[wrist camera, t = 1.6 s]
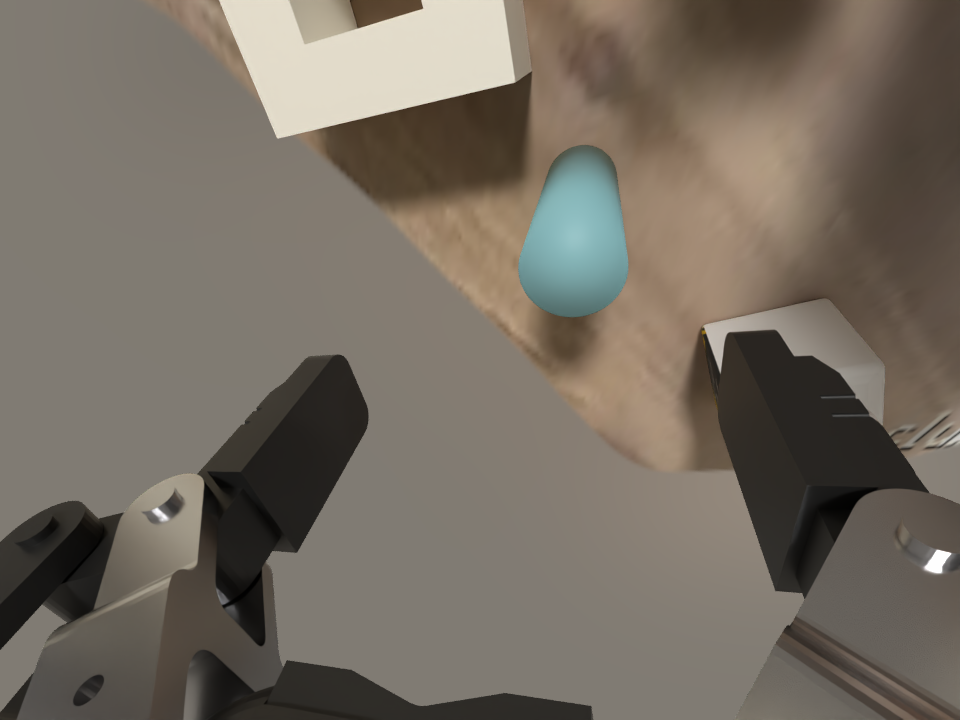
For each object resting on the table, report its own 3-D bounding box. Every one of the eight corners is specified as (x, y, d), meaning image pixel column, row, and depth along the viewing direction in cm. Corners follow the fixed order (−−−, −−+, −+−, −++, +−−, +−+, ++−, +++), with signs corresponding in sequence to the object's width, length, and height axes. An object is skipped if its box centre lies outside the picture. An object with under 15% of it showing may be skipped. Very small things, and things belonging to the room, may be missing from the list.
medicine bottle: (699, 323, 30) (746, 460, 20) (828, 294, 27) (952, 438, 18) (714, 403, 33) (761, 552, 24) (831, 384, 30) (935, 545, 21)
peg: (615, 138, 25) (626, 209, 15) (618, 211, 27) (629, 312, 17) (542, 152, 26) (509, 225, 16) (550, 221, 28) (526, 320, 18)
